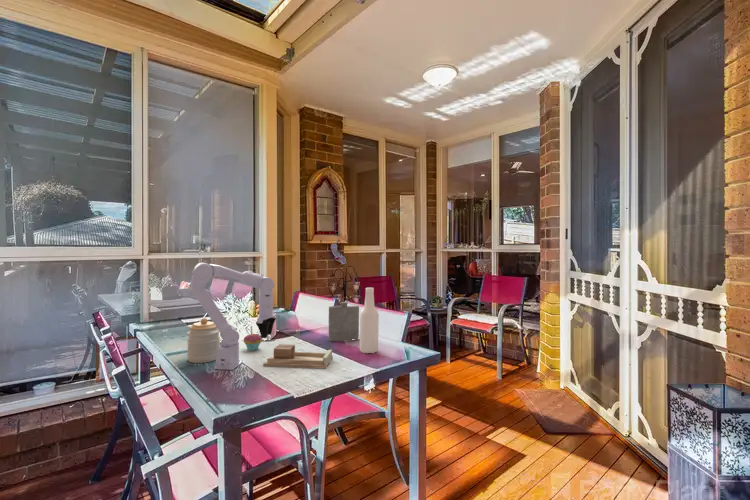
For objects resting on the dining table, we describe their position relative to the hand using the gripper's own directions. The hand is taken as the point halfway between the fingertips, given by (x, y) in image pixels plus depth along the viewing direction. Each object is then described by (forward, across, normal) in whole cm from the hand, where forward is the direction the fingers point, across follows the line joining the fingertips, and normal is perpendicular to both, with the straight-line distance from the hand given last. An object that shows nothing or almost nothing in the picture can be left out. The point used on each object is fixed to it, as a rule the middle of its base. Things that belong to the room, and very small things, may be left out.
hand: (266, 336), depth 158 cm
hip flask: (+12, +37, -28) cm, 47 cm away
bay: (+11, 0, -14) cm, 18 cm away
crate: (+9, 0, -8) cm, 12 cm away
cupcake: (+11, +15, +12) cm, 22 cm away
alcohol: (+12, +19, -42) cm, 48 cm away
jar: (+10, -1, +28) cm, 29 cm away
